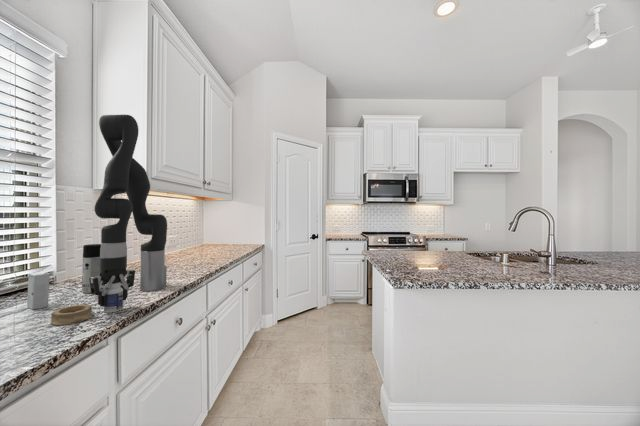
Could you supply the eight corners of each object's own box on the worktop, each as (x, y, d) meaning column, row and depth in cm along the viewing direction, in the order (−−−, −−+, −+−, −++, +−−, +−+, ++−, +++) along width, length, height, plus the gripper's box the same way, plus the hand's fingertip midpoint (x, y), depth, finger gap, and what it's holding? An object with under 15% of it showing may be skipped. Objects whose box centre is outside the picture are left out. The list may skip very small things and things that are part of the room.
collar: (80, 311, 95) (80, 302, 95) (99, 315, 91) (99, 306, 91) (43, 322, 86) (43, 312, 86) (62, 327, 82) (62, 317, 82)
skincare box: (26, 306, 99) (26, 273, 98) (43, 303, 102) (43, 270, 102) (32, 310, 96) (32, 275, 95) (49, 306, 99) (50, 272, 99)
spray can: (85, 290, 119) (85, 244, 119) (104, 288, 122) (105, 243, 122) (79, 294, 113) (80, 246, 113) (100, 292, 116) (100, 245, 116)
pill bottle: (121, 311, 95) (121, 283, 95) (102, 314, 93) (102, 285, 93) (124, 306, 100) (124, 280, 100) (105, 309, 98) (106, 281, 98)
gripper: (127, 251, 104) (126, 295, 104) (83, 257, 91) (82, 308, 91) (141, 253, 102) (140, 298, 102) (97, 259, 88) (97, 311, 88)
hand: (113, 302), depth 96 cm, fingers open, 6 cm apart
